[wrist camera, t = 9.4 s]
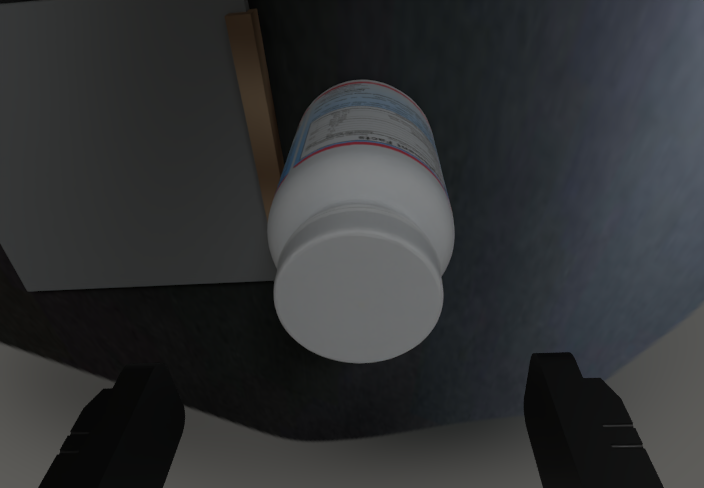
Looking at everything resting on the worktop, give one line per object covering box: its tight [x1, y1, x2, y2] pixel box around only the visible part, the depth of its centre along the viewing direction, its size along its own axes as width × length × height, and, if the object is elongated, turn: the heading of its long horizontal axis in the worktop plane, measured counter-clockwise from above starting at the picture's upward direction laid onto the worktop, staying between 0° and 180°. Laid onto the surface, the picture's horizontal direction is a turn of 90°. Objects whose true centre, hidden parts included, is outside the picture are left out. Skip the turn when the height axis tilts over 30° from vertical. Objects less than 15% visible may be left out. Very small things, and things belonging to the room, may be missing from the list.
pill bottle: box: [267, 80, 455, 363], centre depth 18 cm, size 6×6×11 cm
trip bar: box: [225, 9, 284, 222], centre depth 23 cm, size 12×1×1 cm, turn 5°
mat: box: [0, 0, 277, 291], centre depth 24 cm, size 14×15×1 cm
